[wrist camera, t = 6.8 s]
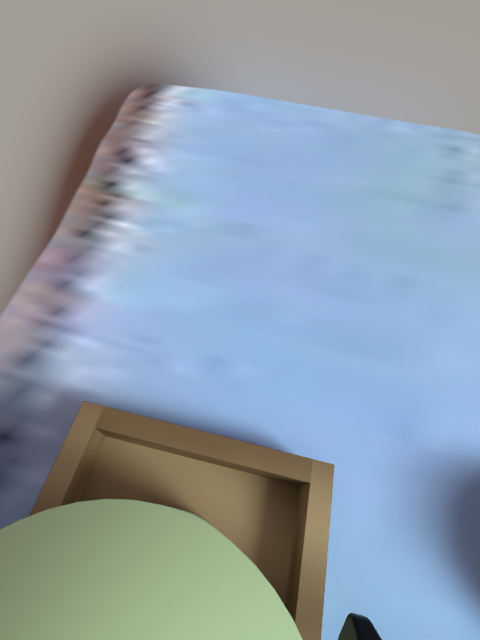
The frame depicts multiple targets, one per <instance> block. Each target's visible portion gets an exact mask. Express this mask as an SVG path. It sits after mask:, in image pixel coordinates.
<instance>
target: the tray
mask: <svg viewBox="0 0 480 640" xmlns="http://www.w3.org/2000/svg"><path fill="white" fill-rule="evenodd" d="M333 475H334V465H333V464H330V463H326V462H322V461H318V460H314V459H310V458H306V457H302V456H298V455H294V454H290V453H286V452H282V451H278V450H274V449H270V448H266V447H262V446H259V445H255V444H251V443H247V442H243V441H239V440H235V439H231V438H227V437H223V436H219V435H215V434H211V433H207V432H203V431H199V430H195V429H191V428H188V427H184V426H180V425H176V424H172V423H168V422H164V421H160V420H156V419H152V418H148V417H144V416H140V415H136V414H132V413H128V412H124V411H121V410H117V409H113V408H109V407H105V406H101V405H97V404H93V403H89V402H85V401H83V403H82V405H81V407H80V409H79V411H78V413H77V416H76V418H75V420H74V422H73V424H72V426H71V428H70V431H69V433H68V435H67V437H66V439H65V441H64V443H63V445H62V448H61V450H60V452H59V454H58V456H57V458H56V460H55V462H54V465H53V467H52V469H51V471H50V473H49V475H48V477H47V480H46V482H45V484H44V486H43V488H42V490H41V492H40V494H39V497H38V499H37V501H36V503H35V505H34V507H33V509H32V511H31V514H30V516H31V515H34V514H37V513H39V512H42V511H45V510H47V509H51V508H55V507H59V506H63V505H67V504H71V503H75V502H82V501H91V500H101V499H124V500H137V501H143V502H148V503H154V504H159V505H163V506H167V507H171V508H175V509H179V510H183V511H187V512H190V513H193V514H196V515H198V516H200V517H202V518H203V519H204V520H206V521H207V522H209V523H210V524H211V525H212V526H213V527H214V528H216V529H217V530H218V531H219V532H220V533H222V534H223V535H224V536H225V537H226V538H227V539H229V540H230V541H231V542H232V543H233V544H234V545H235V546H236V547H237V548H238V549H239V550H240V551H241V552H243V553H244V554H245V555H246V556H247V557H248V558H249V559H250V560H251V561H252V562H253V563H254V564H255V565H256V567H257V568H258V569H259V570H260V572H261V573H262V574H263V575H264V577H265V578H266V579H267V581H268V582H269V583H270V584H271V586H272V587H273V588H274V589H275V591H276V593H277V594H278V596H279V597H280V599H281V601H282V602H283V604H284V606H285V607H286V609H287V610H288V612H289V614H290V615H291V617H292V619H293V620H294V623H295V625H296V627H297V629H298V631H299V633H300V635H301V637H302V639H303V640H321V629H322V616H323V603H324V591H325V578H326V565H327V552H328V539H329V526H330V514H331V501H332V488H333Z"/></svg>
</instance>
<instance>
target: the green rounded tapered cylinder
mask: <svg viewBox="0 0 480 640" xmlns="http://www.w3.org/2000/svg"><path fill="white" fill-rule="evenodd" d="M0 640H303V639H302V637H301V635H300V633H299V631H298V629H297V627H296V625H295V623H294V620H293V619H292V617H291V615H290V614H289V612H288V610H287V609H286V607H285V606H284V604H283V602H282V601H281V599H280V597H279V596H278V594H277V593H276V591H275V589H274V588H273V587H272V586H271V584H270V583H269V582H268V581H267V579H266V578H265V577H264V575H263V574H262V573H261V572H260V570H259V569H258V568H257V567H256V565H255V564H254V563H253V562H252V561H251V560H250V559H249V558H248V557H247V556H246V555H245V554H244V553H243V552H241V551H240V550H239V549H238V548H237V547H236V546H235V545H234V544H233V543H232V542H231V541H230V540H229V539H227V538H226V537H225V536H224V535H223V534H222V533H220V532H219V531H218V530H217V529H216V528H214V527H213V526H212V525H211V524H210V523H209V522H207V521H206V520H204V519H203V518H202V517H200V516H198V515H196V514H193V513H190V512H187V511H183V510H179V509H175V508H171V507H167V506H163V505H159V504H154V503H148V502H143V501H137V500H124V499H101V500H91V501H82V502H75V503H71V504H67V505H63V506H59V507H55V508H51V509H47V510H45V511H42V512H39V513H37V514H34V515H31V516H29V517H26V518H23V519H21V520H18V521H16V522H14V523H12V524H10V525H8V526H6V527H4V528H2V529H0Z"/></svg>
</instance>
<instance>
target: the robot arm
mask: <svg viewBox="0 0 480 640" xmlns="http://www.w3.org/2000/svg"><path fill="white" fill-rule="evenodd" d="M338 640H382V639H381V638H380V636H379V634H378V633H377V631H376V629H375V628H374V626H373V624H372V623H371V621H370V620H369V619H368V618H367V617H365V616H362V615H358V614H354V613H350V614H349V615H348V616H347V618H346V621H345V623H344V625H343V628H342V630H341V633H340V635H339V638H338Z"/></svg>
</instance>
